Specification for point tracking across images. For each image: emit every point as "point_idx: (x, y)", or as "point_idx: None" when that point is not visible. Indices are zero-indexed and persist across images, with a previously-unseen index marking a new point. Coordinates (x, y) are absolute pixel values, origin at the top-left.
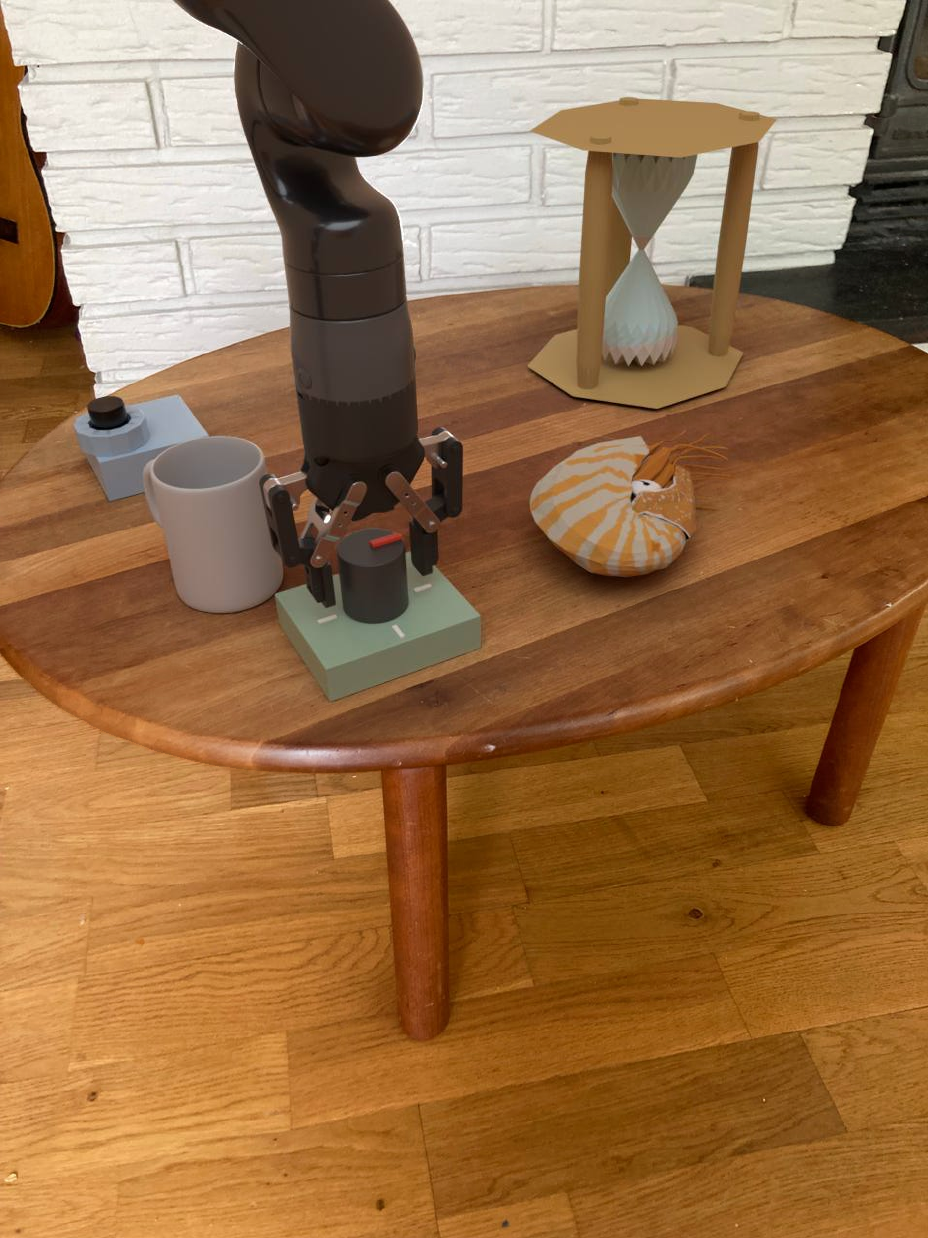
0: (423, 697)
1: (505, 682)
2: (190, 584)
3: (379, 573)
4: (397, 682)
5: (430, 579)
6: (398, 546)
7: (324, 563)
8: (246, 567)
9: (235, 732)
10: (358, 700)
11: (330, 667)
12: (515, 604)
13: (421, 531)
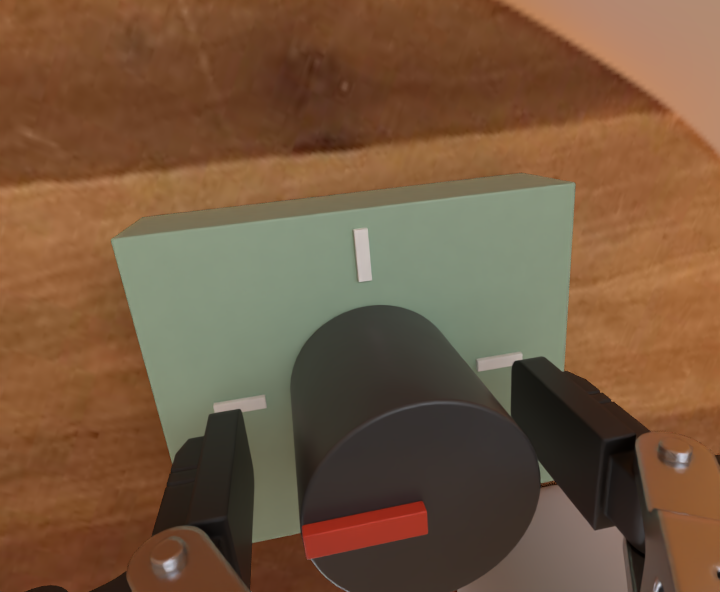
0: (336, 100)
1: (118, 61)
2: None
3: (432, 380)
4: (372, 178)
5: None
6: (333, 486)
7: (638, 442)
8: (592, 562)
9: (701, 164)
10: (469, 155)
11: (562, 186)
12: (2, 345)
13: (221, 543)
